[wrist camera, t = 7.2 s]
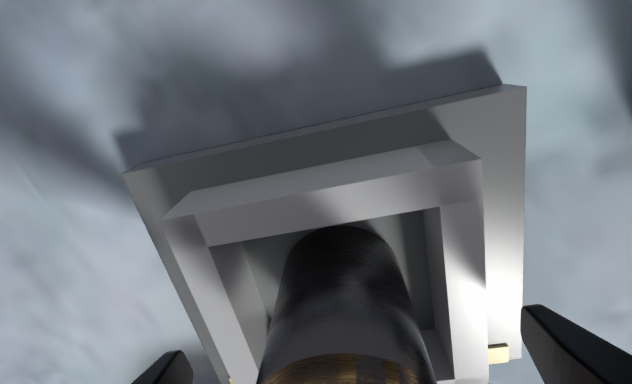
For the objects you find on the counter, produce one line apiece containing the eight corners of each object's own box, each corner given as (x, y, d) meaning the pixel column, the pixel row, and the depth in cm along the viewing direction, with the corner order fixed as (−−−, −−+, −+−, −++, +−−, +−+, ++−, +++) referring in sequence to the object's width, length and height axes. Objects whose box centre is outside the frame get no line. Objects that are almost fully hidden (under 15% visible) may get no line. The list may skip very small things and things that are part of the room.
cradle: (503, 84, 9) (581, 93, 6) (505, 332, 13) (555, 412, 10) (142, 163, 11) (70, 199, 8) (232, 365, 15) (206, 443, 12)
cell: (391, 215, 10) (501, 506, 3) (406, 312, 11) (502, 645, 5) (270, 236, 10) (166, 523, 4) (299, 326, 12) (257, 643, 5)
